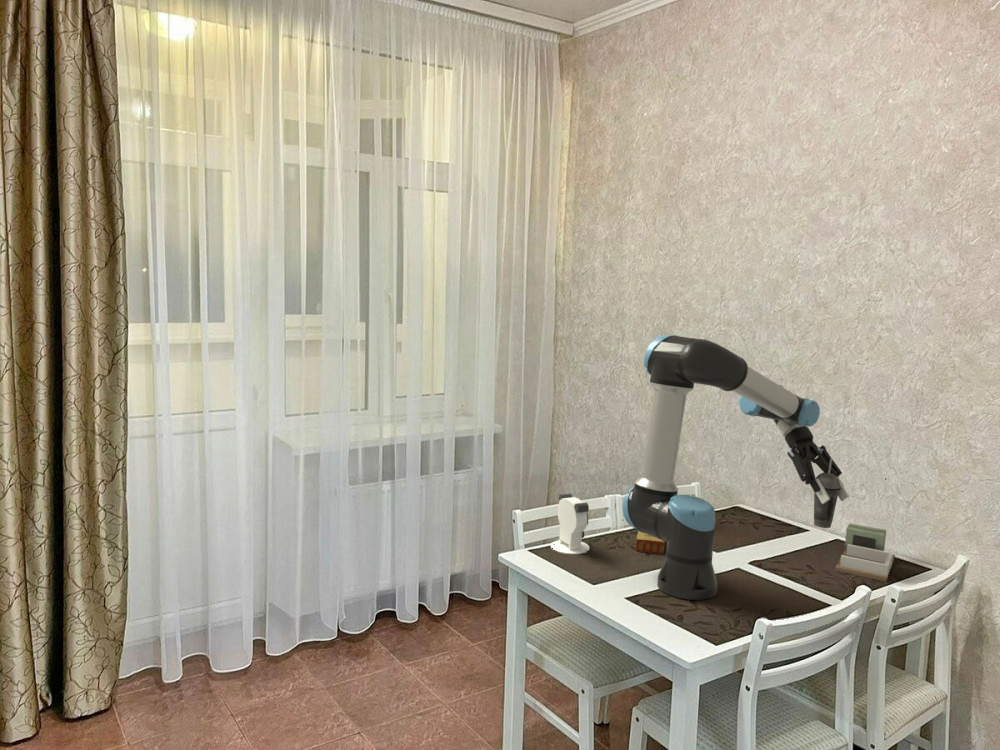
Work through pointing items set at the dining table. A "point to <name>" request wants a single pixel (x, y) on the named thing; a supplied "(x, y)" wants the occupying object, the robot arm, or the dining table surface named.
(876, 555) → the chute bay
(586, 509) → the white upright piece
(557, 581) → the dining table surface
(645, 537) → the carton
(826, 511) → the beverage cup
